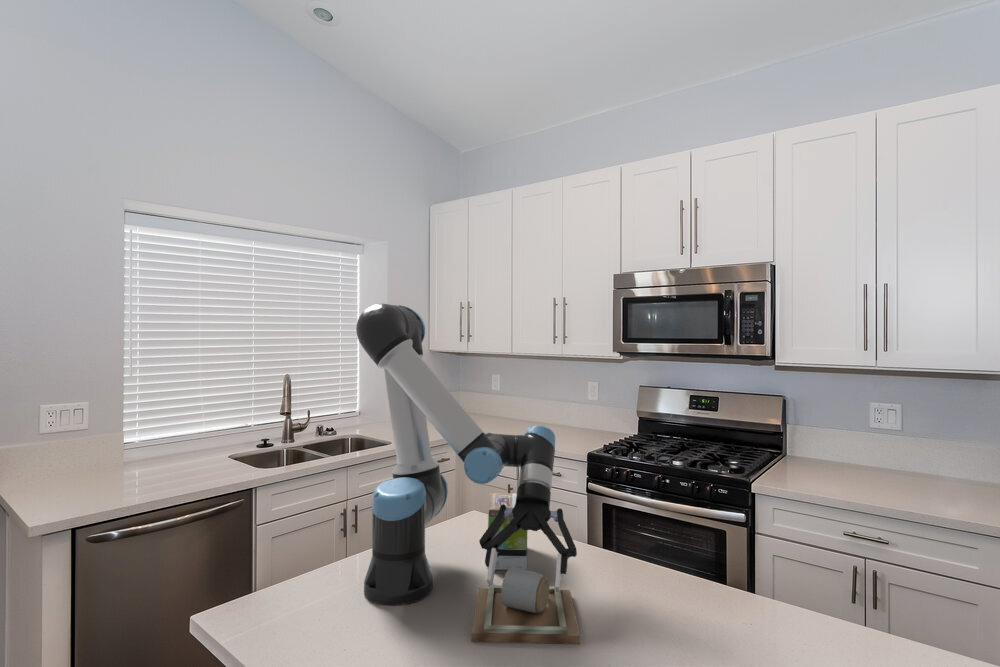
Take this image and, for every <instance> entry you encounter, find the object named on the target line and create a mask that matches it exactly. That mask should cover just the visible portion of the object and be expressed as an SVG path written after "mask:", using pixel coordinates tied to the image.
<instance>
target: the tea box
mask: <svg viewBox="0 0 1000 667" xmlns="http://www.w3.org/2000/svg"><path fill="white" fill-rule="evenodd" d="M516 496H517V492H516V493H513V492H512V493H511V492H510V493H508V492H490V493H489V504H488V512H487V513H488V514H487V528H488V527H489V526H490V525H491V523H492V522H493V520H494V519H495V518H496V516H497V515H498V513H499V510H500V506H501V505H502V504H504V505H505V506H506V507H508V508H514V506H515V503H516ZM513 518H514V516H513V514H511V515H509V517H508V518H506V519H505V521H504V523H503V524H502V526H501V527H500V528H499V530H498V531H497V533H496V534H495V536H496V535H497V534H498V533H499V532H501V531H502V530H503V529H504V528H505V527H506V526H507V525H508V524H509V523H510V521H511V520H512V519H513ZM528 531H529V530H523V529H522V528H520V529H519V530H518V531H517V532H514V533H513V534H512V535H511V536H510V537H509V538H508V539H507V540H506V541H505V542H504V543H503V544H501V545H500V546H499V547H498V548H497V549H496V551H497V559H496V566H495V571H497V570H499V571H508V569H509V568H510V567H511V566H515V567H518V568H521V569H525V570H528V569H527V568H528V567H527V566H528V565H527V564H528V533H529V532H528ZM495 536H494V537H495ZM494 537H493V538H494ZM486 569H487V570H488V569H489V567H486Z"/></svg>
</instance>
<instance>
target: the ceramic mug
mask: <svg viewBox="0 0 1000 667" xmlns="http://www.w3.org/2000/svg"><path fill="white" fill-rule="evenodd" d="M505 572H506V573H505V574H504V577H503V580H502V584H501V585H502V591H501V599H502V603H503V605H504V606H506V607H511V608H515V609H519V610H523V611H527V612H531V613H541V612H542V611H543V610H544V609H545V607H546V604H547V601H548V597H549V586H550V581H549V579H548V577H547V576H545V575H543V574H541V573H538V572H535V571H531V570H529V569H526V570H525V569H521V568H518V567H515V566H511V567H510V568H509V569H508V570H506V571H505Z"/></svg>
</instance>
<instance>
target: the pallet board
mask: <svg viewBox="0 0 1000 667" xmlns="http://www.w3.org/2000/svg"><path fill="white" fill-rule="evenodd" d="M501 591H502V584H501V585H500V584H499V585H497V584H493V585H492V586H491V585H489V584H488V587H479V588H478V589H477V596H476V602H475V608H474V615H473V621H472V627H471V628H472V629H471V639H470V640H471V642H472V643H476V642H477V643H481V642H482V643H483V642H484V643H521V644H522V643H523V644H524V643H525V644H526V643H528V644H563V645H564V644H571V645H573V644H574V645H580V640H581V639H580V638H581V637H580V631H579V627H578V622H577V616H576V611H575V608H574V603H573V598H572V593H571V589H560V593H559V592H556V590H555V585H553V586H552V585H551V586H550V585H549V597H548V601H547V604H546V607H545V609H544V610H543V611H542V612H541V613H531V612H527V611H523V610H519V609H515V608H511V607H506V606H504V605H503V603H502V599H501Z"/></svg>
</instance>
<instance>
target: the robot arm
mask: <svg viewBox="0 0 1000 667" xmlns="http://www.w3.org/2000/svg"><path fill="white" fill-rule="evenodd" d="M425 336H426V326H425V322H424V320H423V318H422V317H421V315H420V314H419V313H417V311H415V310H414V309H411V308H410V307H408V306H404V305H399V304H398V305H396V304H395V305H394V304H387V303H377V304H373V305H370V306H369V307H367V308H366V309H364V310H363V311H362V312H361V314H360V315H359V317H358V320H357V322H356V337H357V339H358V341H359V344H360V345H361V346H362V348H363V350H364V352H365V353H366V354H367V355H368V356H369V358H370V359H371V360H372V362H374V364H375V365H376V366H377V367H378V368H379V369H384V370H383V371H384V378H385V385H386V392H387V399H388V406H389V413H390V421H391V427H392V433H393V442H394V448H395V456H396V465H395V466H394V468H393V470H392V471H391V473H392V478H391V480H390V479H389V480H385V481H383V482H381V483H379V484H378V485H377V486H376V487H375V489H374V490H373V494H372V500H371V501H372V502H371V517H372V518H371V520H372V521H371V522H372V523H371V532H372V533H371V535H372V536H371V537H372V538H371V539H372V540H371V541H372V542H371V544H372V547H371V549H372V550H371V554H372V556H371V559H370V563H369V566H368V569H367V572H366V576H365V578H364V580H363V581H364V583H363V594H364V597H366V599H367V600H369V601H370V602H372V603H374V604H377V605H378V604H379V605H384V606H385V605H386V606H400V605H401V606H402V605H407V604H411V603H415V602H418V601H420V600H423V599H424V598H425V597H427V596H428V595H430V593H431V592H432V591H433V588H434V587H433V586H434V577H433V573H432V570H431V567H430V564H429V560H428V557H427V554H426V526H427V525H428V524H429V523H430V522H431V521H432V519H434V518H435V517H437V515H438V514H440V512H441V511H442V510H443V509H444V507H445V504H446V502H447V500H448V496H449V486H448V483H447V480H446V478H445V476H444V475H443V474H441V470H440V464H439V461H437V460H436V459H434V458H433V457H432V450H431V444H430V437H429V429H428V423H427V422H428V421H429V423H431V425H432V426H433V427H434V428H435V430H436V431H437V432H438V433H439V435H441V437H442V438H443V439H444V440H445V442H446V443H447V444H448V445H449V447H450V448H451V449H452V450H453V451H454V452H455V454H456V455H457V456H458V457H459V459H460V460H461V461H462V462H463V469H464V472H465V475H466V477H467V478H468V479H469V480H470V481H471V482H473V483H475V484H480V485H483V484H487V483H490V482H492V481H493V480H494V479H496V478H497V477H498V476H500V473H501V472H502V470H503V469H504V468H505V467H509V468H510V467H513V468H520V470H519V476H518V482H517V485H518V486H517V491H516V493H517V496H516V503H515V506H514V508H508V507H506V506H505V505H504V504H502V505H501V506H500V510H499V513H498V515H497V516H496V518H495V519H494V520H493V522H492V523H491V525H490V526H489V527H488V526H487V528H486V531H484V533H483V534H482V536H481V538H480V539H479V540H478V541H479V545H480V547H481V549H482V550H483V549H484V550H485V551H486V552H485V556H484V557H485V558H484V564H485V567H486V568H487V567H489V569H487V577H486V581H487V585H488V586H489V585H491V586H492V585H494V578H495V572H496V570H495V566H496V559H497V551H496V549H497V548H498V547H499V546H500V545H501V544H503V543H504V542H505V541H506V540H507V539H508V538H509V537H510V536H511V535H512V534H513V533H514V532H517V531H518V530H519V529H520V528H522V529H523V530H528V531H533V532H538V531H540V530H541V531H542V533H543V534H544V535H545V536H546V538H547V539H548V540H549V542H550V543H551V544H552V546H553V547H554V548H555V550H556V551H557V554H556V555H557V556H556V568H555V570H556V572H555V583H554V586H555V590H556V592H559V593H560V590H561V582H562V575H566V574H567V572H568V560H569V558H571V557H572V558H575V557H576V556H578V552H577V547H576V544H575V543H574V540H573V537H572V536H571V533H570V531H569V529H568V527H567V524H566V522H565V519H564V511H563V509H562V508H558V509H557V510H551V509H550V503H551V496H552V495H551V494H552V492H551V490H552V482H553V475H554V474H553V471H554V462H555V453H556V435H555V433H554V431H553V430H552V429H550V428H549V427H547V426H544V425H541V424H540V425H539V424H537V425H534V426H532V425H531V426H529V427H528V428H527V429H526V430H525V432H524V434H519V435H518V434H503V433H502V434H501V433H491V432H487V433H485V431H484V430H483V429H482V428H481V427H480V426H479V425H478V423H477V422H476V421H475V420H474V419H473V418H472V416H470V414H469V413H468V411H467V410H465V408H464V407H463V406H462V405H461V403H460V402H459V401H458V400H457V399H456V397H455V396H454V395H453V394H452V392H450V390H449V389H448V388H447V387H446V385H445V384H444V383H443V382H442V381H441V380H440V378H439V377H438V376H437V375H436V374H435V372H434V371H432V369H431V368H430V366H428V364H427V363H426V362H425V361H424V360H423V357H424V353H423V352H424V351H423V344H422V343H423V341H424V340H425ZM427 420H428V421H427ZM511 514H513V516H514V518H513V519H512V520H511V521H510V523H509V524H508V525H507V526H506V527H505V528H504V529H503V530H502V531H501V532H499V533H498V534H497V535H496V536H495V534H496V533H497V531H498V530H499V528H500V527H501V526H502V524H503V523H504V521H505V519H506V518H508V517H509V515H511ZM551 518H552V519H553V520H554V522H556V523H557V524H558V528H559V529H560V530H559V531H560V532H561V534H562V536H563V539H564V541H565V544H566V546H567V548H566V547H565V545H564V544H563V543H562V541H561V540H560V539H559V537H558V536H557V535H556V533H555V532H554V531H553V529H552V527H550V525H549V523H548V522H549V521H550V519H551ZM494 536H495V537H494ZM493 537H494V538H493Z"/></svg>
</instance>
